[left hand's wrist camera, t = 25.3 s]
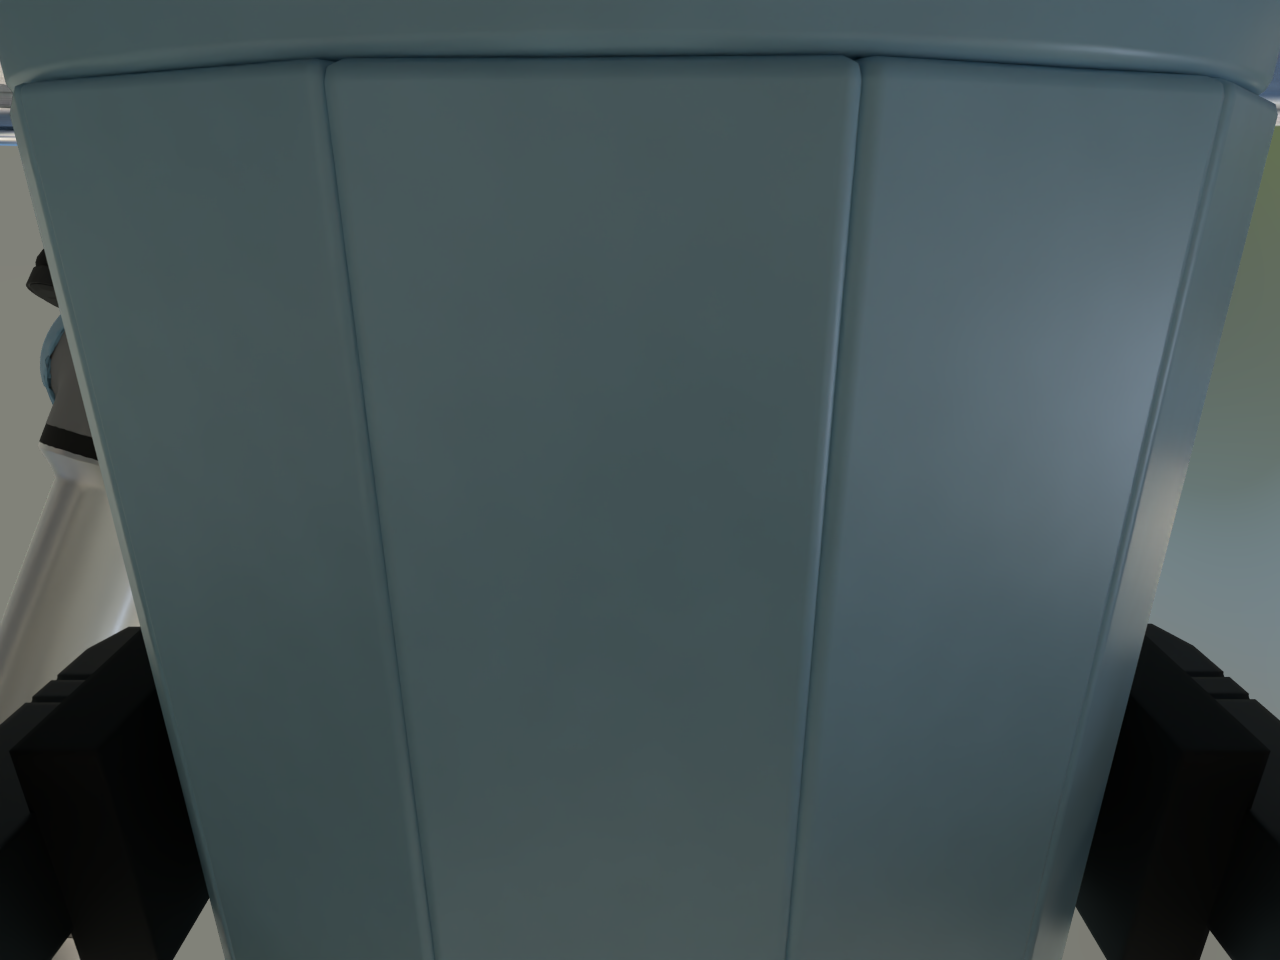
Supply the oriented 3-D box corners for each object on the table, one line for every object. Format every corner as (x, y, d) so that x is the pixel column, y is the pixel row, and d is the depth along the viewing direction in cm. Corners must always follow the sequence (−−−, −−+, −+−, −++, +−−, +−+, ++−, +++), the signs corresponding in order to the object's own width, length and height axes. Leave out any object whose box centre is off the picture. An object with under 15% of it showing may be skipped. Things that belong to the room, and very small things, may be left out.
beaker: (1897, -162, 3) (1188, 1393, 8) (885, 72, 12) (819, 756, 16) (-925, -430, 2) (176, 1695, 6) (223, 58, 10) (349, 818, 15)
